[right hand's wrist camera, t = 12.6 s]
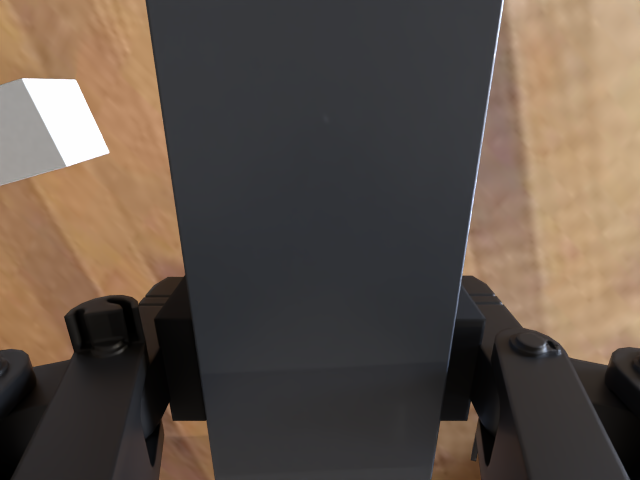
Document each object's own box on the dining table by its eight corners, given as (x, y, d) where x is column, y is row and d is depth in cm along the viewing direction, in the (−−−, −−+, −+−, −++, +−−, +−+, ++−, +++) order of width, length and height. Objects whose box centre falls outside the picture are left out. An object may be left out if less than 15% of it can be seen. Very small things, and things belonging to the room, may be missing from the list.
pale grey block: (75, 79, 26) (21, 77, 21) (110, 152, 27) (67, 166, 23) (9, 99, 26) (-59, 103, 21) (46, 170, 28) (-8, 187, 23)
